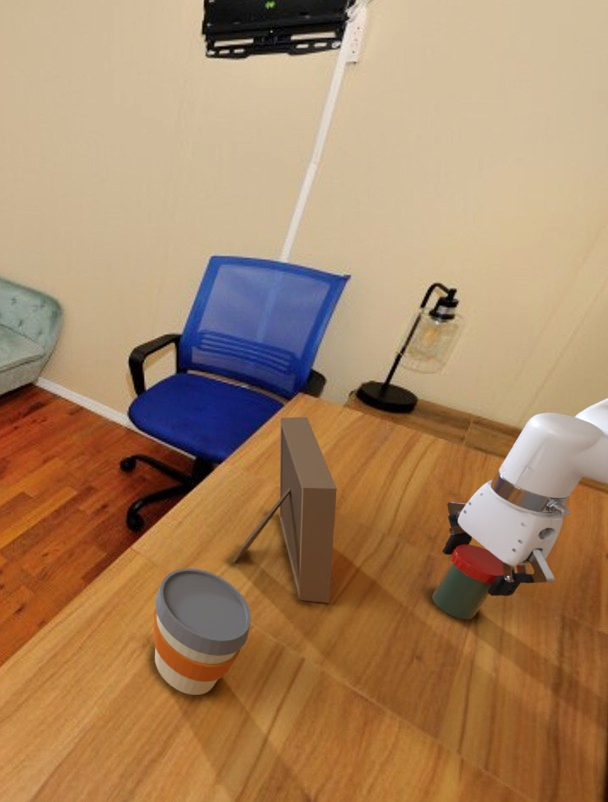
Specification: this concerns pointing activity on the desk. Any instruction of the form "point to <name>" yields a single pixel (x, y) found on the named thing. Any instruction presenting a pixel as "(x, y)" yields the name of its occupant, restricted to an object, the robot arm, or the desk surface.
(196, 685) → the reusable coffee cup
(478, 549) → the jam lid
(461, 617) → the jam jar
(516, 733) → the desk surface
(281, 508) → the photo frame
